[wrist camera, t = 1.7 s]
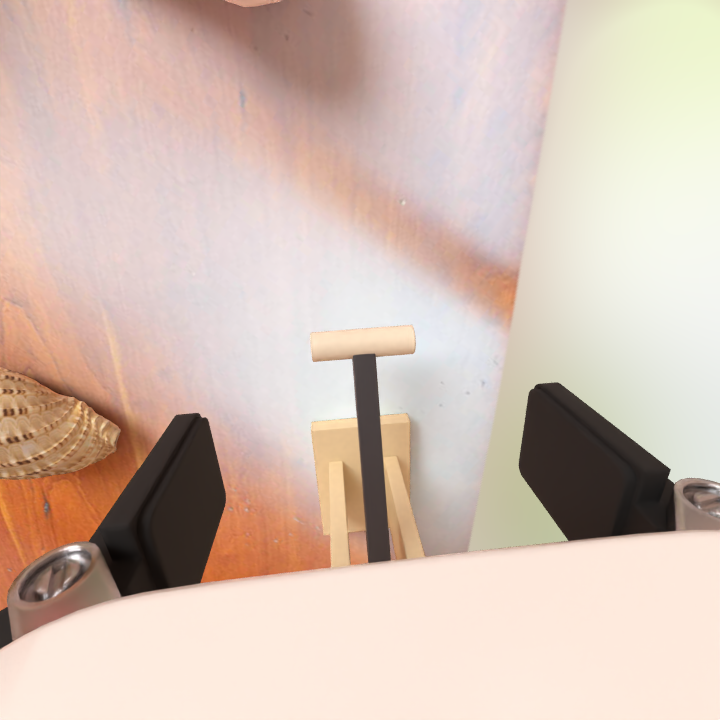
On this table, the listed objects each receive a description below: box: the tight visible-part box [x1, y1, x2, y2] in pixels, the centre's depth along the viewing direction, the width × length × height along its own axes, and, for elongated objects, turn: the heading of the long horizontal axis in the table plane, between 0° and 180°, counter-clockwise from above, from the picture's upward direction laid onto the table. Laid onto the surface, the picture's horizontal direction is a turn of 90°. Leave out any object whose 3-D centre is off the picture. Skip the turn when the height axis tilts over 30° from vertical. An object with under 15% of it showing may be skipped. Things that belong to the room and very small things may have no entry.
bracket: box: [311, 413, 425, 567], centre depth 24 cm, size 10×7×13 cm
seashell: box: [0, 368, 121, 480], centre depth 23 cm, size 8×6×10 cm
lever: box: [310, 325, 416, 563], centre depth 19 cm, size 16×5×2 cm, turn 3°
